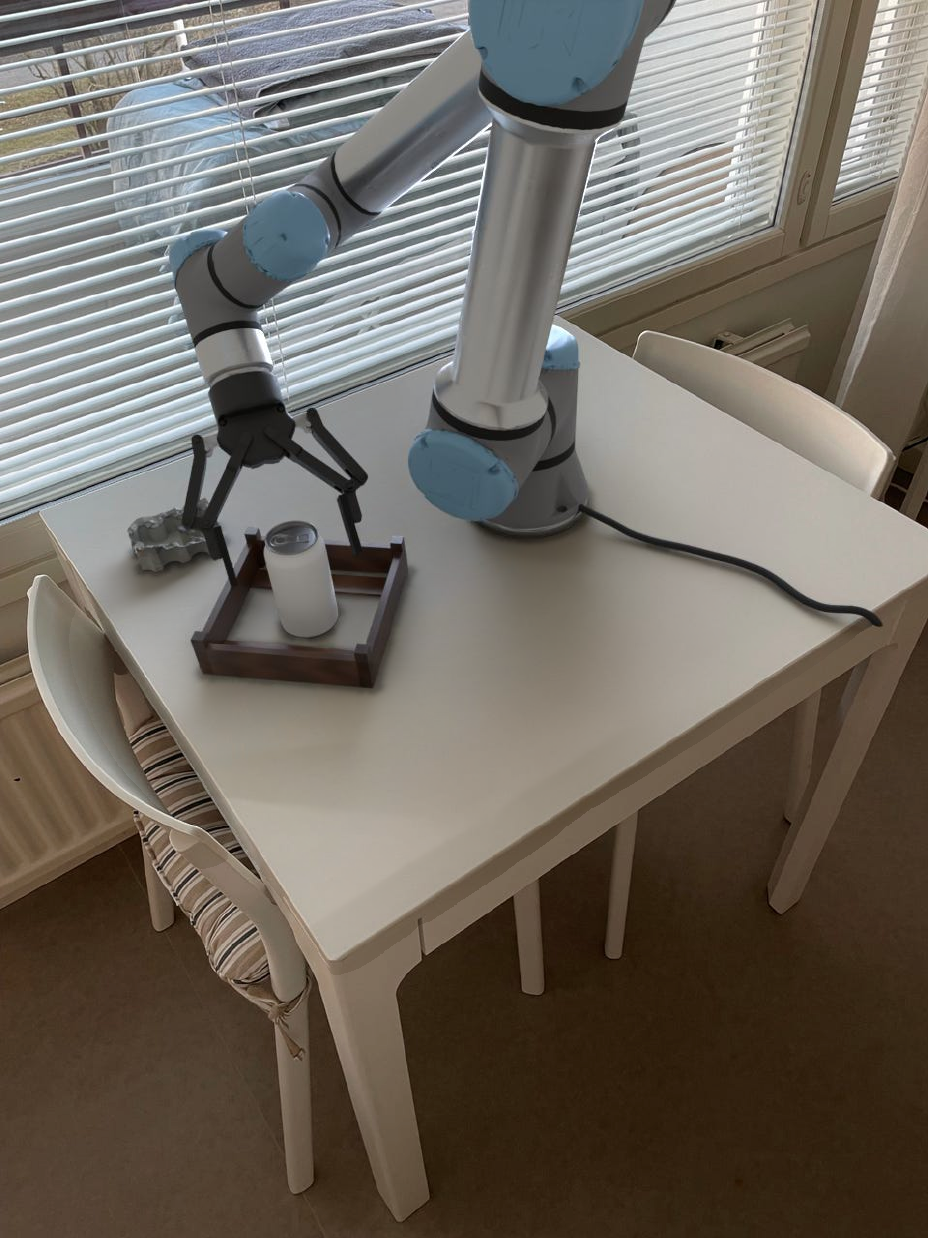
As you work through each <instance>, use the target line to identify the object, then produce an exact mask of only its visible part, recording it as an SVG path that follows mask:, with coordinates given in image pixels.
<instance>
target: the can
mask: <svg viewBox="0 0 928 1238" xmlns="http://www.w3.org/2000/svg"><path fill="white" fill-rule="evenodd" d="M264 536H265V548H264V558H265V562H266V566H265V567H266V569H267V570H268V574H269V578H270V582H271V585H272V589H271V590H272V593H273V596H274V597H273V598H274V600H275V605H276V608H277V612H278V615H279V618H280V622H281V626H282V628H283V629H284V630H285V632H287V633H288V634H290V635H292V636H294V637H298V638H301V639H309V638H310V639H311V638H315V637H319V636H322V635H324V634H325V633H327V632H328V631H330V630H331V629H332V628H333V627H334V626H335V624H336V623H337V621H338V619H339V608H338V602H337V598H336V594H335V592H334V587H333V582H332V577H331V574H332V573H331V572H332V571H331V570H330V567H329V562H328V557H327V552H326V548H325V544H324V541H323V540H324V539H323V537H322V536H321V534H320V533H319V529H318V528H317V527H316V525H314V524H313V523H311V522H309V521H307V520H306V521H305V520H297V519H295V520H287V521H283V522H281V523H278V524H276V525H274V526H273V527H272V528H270V529H269V530H268V531H267V533H266V534H265V535H264Z"/></svg>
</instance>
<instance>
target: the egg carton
mask: <svg viewBox="0 0 928 1238" xmlns="http://www.w3.org/2000/svg"><path fill="white" fill-rule="evenodd" d="M209 503H210V502H209V501H208V500H207V498H206V497H203V498H202V499H201V498H200V502H199V507H198V512H197V517H201V518H202V517H203V515H204V513H205V511H206V509H207V507H208V505H209ZM183 510H184V505H183V506H182V507H181V508H178V507H173V508H172V509H170V510H167V511H163V512H160V513H158V514H155V515H150V516H141V517H138V518H136V519H135V520H134V521H133V522H132V523H131V524H130V525H129V526H128V528H127V530H126V531H127V534H128V539H129V541H130V542H131V550H132V553H133V554H136V556H137V558H138V560H139V563H140V566H141V569H142V571H147V570H149V571H153V572H157V573H159V572H161V571H163V570H164V568H165V566H166V565H167V564H169V563H171V562H179V563H182V564H184V563H186V562H189V561H191V560H192V558H193V556H194V555H196V554H197V553H207V554H208V555H210V554H209V550H208V547H207V544H206V540H205V537H204V534H203V533H202V532H201V531H197V530H186V529H185V528H184V527H183V525H182V515H183ZM218 526H220V524H219V521H218V520H217V521H216V523H215V525H214V527H218Z"/></svg>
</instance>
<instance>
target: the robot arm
mask: <svg viewBox="0 0 928 1238" xmlns="http://www.w3.org/2000/svg"><path fill="white" fill-rule="evenodd" d="M676 2H677V0H468V21H469V28H468V29H467V30H466V31H464V33H462V34H461V35H460V36H459V37H458V38H457V39H455V40H454V42H452V44H450V45H449V47H447V48H446V49H445V50H444V51H443V52H442V53H441V54H440V55H438V56H437V57H436V58H435V59H434V60H433V61H432V62H431V63H430V64H429V65H427V66H426V67H425V68H424V69H423V70H422V71H421V72H420V73H419V74H418V75H416V76H415V77H414V78H413V79H412V80H411V81H410V82H409V83H408V84H407V85H405V87H403V89H402V90H400V91H399V92H398V93H397V94H396V95H394V97H392V99H390V100H389V101H388V102H387V103H386V104H385V105H384V106H383V107H382V108H380V109H379V111H377V112H376V113H375V114H374V115H373V116H372V117H371V118H370V119H369V120H367V121H366V122H365V123H364V124H363V125H362V126H361V127H360V128H359V129H357V130H356V132H354V133H353V134H352V135H351V136H350V137H349V138H348V139H346V140H345V142H344V143H343V144H341V145H340V146H339V147H338V148H336V150H334V151H333V152H332V153H331V154H330V155H329V156H327V158H326V159H324V160H323V161H322V162H321V163H320V164H319V165H318V166H316V168H314V169H313V170H311V172H310V173H308V174H307V175H306V176H304V177H303V178H301V179H300V180H299V181H297V182H296V183H294V184H293V185H291V186H289V187H287V188H286V189H284V190H283V189H282V190H278V191H275V192H273V193H272V194H270V195H269V196H268V197H266V198H264V199H263V200H262V201H261V202H259V203H258V204H255V205H254V206H253V207H252V208H251V209H250V210H249V211H248V213H247V214H246V215H245V216H243V218H242V219H241V220H240V221H239V222H238V223H236V225H234V226H233V228H231V229H230V230H229V231H228V232H227V231H225V230H223V229H217V228H207V229H204V228H203V229H199V230H195V231H191V232H190V234H188V235H185V236H181V237H179V238H178V239H177V240H176V241H174V243H172V245H171V247H170V249H169V252H168V261H169V265H170V269H171V273H172V277H173V284H174V285H173V287H174V290H175V292H176V294H177V297H178V299H179V304H180V306H181V309H182V311H183V315H184V319H185V322H186V324H187V328H188V332H189V335H190V338H191V342H192V344H193V346H194V352H195V356H196V359H197V361H198V365H199V369H200V372H201V375H202V380H203V383H204V384H205V386H206V387H208V388H209V389H208V391H207V396H208V399H209V402H210V404H211V409H212V413H213V416H214V419H215V422H216V426H217V434H216V435H207V436H202V435H200V434H194V435H192V436H191V440H190V442H191V446H192V453H193V459H192V464H191V470H190V475H189V480H188V484H187V485H188V486H187V489H186V490H187V491H186V496H185V501H184V505H183V506H184V510H183V515H182V525H183V527H184V528H185V529H186V530H197V531H201V532H202V533H203V534H204V537H205V540H206V544H207V547H208V550H209V554H208V555H209V557H210V558H211V560H212V561H213V562H215V561H219V560H222V561H223V565H224V568H225V571H226V574H227V577H228V578H229V581H230V585H231V588H232V589H235V588H239V586H238V582H237V579H236V576H235V572H234V569H233V568H234V566H233V562H232V559H231V555H230V552H229V549H228V546H227V542H226V539H225V536H224V535H225V534H224V533H223V529H222V526H221V525H219V526H218V527H214V525H215V523H216V521H217V522H218V519H219V517H220V515H221V513H222V511H223V508H224V506H225V504H226V502H227V500H228V498H229V495H230V493H231V491H232V490H233V487H234V485H235V483H236V481H237V480H238V477H239V475H240V474H241V471H242V469H243V467H245V468H247V469H251V470H255V469H258V468H260V467H262V466H264V465H274V464H279V463H280V462H281V461H283V460H284V459H285V458H287V459H288V460H290V461H291V462H293V463H295V464H297V465H298V466H300V467H302V468H303V469H305V470H306V471H307V472H309V473H310V474H312V475H313V476H315V477H316V478H318V479H319V480H320V481H322V482H324V483H325V484H326V485H327V486H329V487H330V488H332V489H333V490H335V491H337V492H338V493H340V494H338V496H337V498H336V501H337V502H336V503H337V505H338V508H339V512H340V516H341V519H342V522H343V526H344V529H345V533H346V535H347V539H348V541H349V543H350V546H351V549H352V553H353V556H355V555H359V554H361V553H362V551H363V550H362V547H361V544H360V542H361V541H360V537H359V535H358V530H357V528H356V524H357V523H361V522H362V520H363V513H362V510H361V507H360V503H359V500H358V496H357V491H358V489H360V488H361V487H363V486H365V484H366V483H367V481H368V479H369V474H368V473H367V472H366V471H365V469H364V468H363V467H362V466H361V465H360V464H359V463H358V462H357V460H355V458H354V457H353V456H352V455H351V454H350V453H349V452H348V451H347V450H346V449H345V448H344V446H343V445H342V444H341V443H340V442H339V441H338V440H337V439H336V438H335V436H334V435H333V434H332V433H331V432H330V431H329V430H328V429H327V428H326V427H325V425H324V423H323V421H322V418H321V416H320V414H319V411H318V410H317V408H315V407H309V408H308V409H306V412H304V413H301V414H298V415H295V416H292V415H290V413H289V412H288V411H287V408H286V404H285V401H284V397H283V394H282V390H281V387H280V383H279V380H278V376H277V375H275V374H274V373H273V371H274V363H273V360H272V357H271V353H270V349H269V347H268V343H267V340H266V338H265V337H266V336H265V335H264V334H265V333H264V330H263V326H262V324H261V322H260V317H259V313H258V309H260V308H261V307H263V306H264V305H265V304H267V303H268V302H269V301H270V300H271V299H273V298H274V297H276V296H277V295H278V294H280V293H281V292H284V290H286V289H287V288H289V287H290V286H291V285H293V284H294V283H295V282H296V281H298V280H301V279H303V278H304V277H306V276H307V274H308V273H310V272H311V271H313V270H314V269H315V268H316V267H317V266H318V264H319V263H321V261H323V260H325V258H327V256H329V255H330V254H331V253H333V252H334V251H335V250H337V248H338V247H340V246H341V245H342V244H344V243H345V242H346V241H348V240H349V239H351V238H352V237H353V236H354V235H356V234H358V233H360V232H361V231H363V229H365V228H366V227H367V226H369V225H370V224H371V223H372V222H373V221H374V219H376V218H377V217H379V216H380V215H381V214H382V212H384V211H385V210H386V209H388V207H390V206H391V205H392V204H394V203H395V202H396V201H397V200H399V199H400V198H401V197H403V196H404V195H405V194H407V193H408V192H409V191H410V190H411V189H413V188H415V186H417V185H418V184H419V183H420V182H422V181H423V180H424V179H425V178H426V177H428V176H429V175H431V174H432V173H433V172H434V171H435V170H437V169H438V168H439V167H441V166H442V165H443V164H444V163H446V162H447V161H448V160H450V158H452V157H453V156H455V154H457V153H458V152H459V151H461V150H462V149H463V148H465V147H466V146H467V145H469V144H470V143H471V142H472V141H474V140H475V139H476V138H478V137H479V136H480V135H481V134H483V133H484V132H485V131H486V130H487V129H489V128H490V132H489V138H488V144H487V150H486V156H485V163H484V169H483V174H482V181H481V187H480V193H479V199H478V204H477V211H476V217H475V223H474V228H475V229H474V235H473V236H472V243H471V249H470V253H469V254H470V255H469V260H468V267H467V273H466V279H465V285H464V291H463V298H462V304H461V310H460V317H459V322H458V329H457V334H456V341H455V347H454V352H453V359H452V361H450V362H448V363H447V364H445V365H444V366H442V367H441V368H440V369H439V371H438V372H437V374H436V376H435V378H434V381H433V387H432V393H431V400H430V406H429V413H428V418H427V422H426V425H425V427H424V429H423V431H421V432H419V434H417V435H416V436H415V438H414V439H413V442H412V444H411V446H410V449H409V451H408V453H407V454H408V455H407V468H408V472H409V475H410V478H411V480H412V483H413V484H414V485H415V487H416V488H417V490H418V491H420V493H421V494H423V496H424V498H425V499H426V500H427V501H428V502H429V503H430V504H431V505H432V506H434V507H435V508H437V509H438V510H439V511H441V512H443V513H445V514H447V515H449V516H452V517H454V518H456V519H460V520H464V521H470V522H477V523H478V524H479V525H480V526H482V527H483V528H485V529H486V530H488V531H490V532H492V533H495V534H498V535H502V536H506V537H511V538H519V539H535V538H536V539H537V538H542V537H543V538H544V537H548V536H552V535H556V534H558V533H561V532H563V531H565V530H567V529H569V528H571V527H572V526H574V525H575V524H577V523H578V521H580V520H581V518H582V517H583V516H584V515H587V516H589V517H591V518H592V519H595V520H597V521H598V522H601V523H602V524H605V525H607V526H608V527H610V528H613V530H616V531H617V532H620V533H621V534H623V535H625V536H626V537H627V536H628V537H629V538H632V539H634V540H636V541H639V542H642V543H646V544H649V545H653V546H656V547H660V548H665V549H670V550H675V551H679V552H684V553H687V554H688V553H689V554H692V555H696V556H699V557H703V558H707V559H711V560H715V561H718V562H722V563H726V564H730V565H732V566H736V567H739V568H742V569H745V570H748V571H750V572H752V573H755V574H757V575H759V576H761V577H763V578H764V579H767V580H768V581H770V582H772V583H773V584H774V585H775V586H777V587H778V588H780V589H781V590H782V591H783V592H785V593H786V594H787V595H788V596H790V597H791V598H792V599H794V600H796V602H799V603H801V604H803V605H804V606H806V607H808V608H810V609H813V610H816V611H819V612H823V613H828V614H829V613H830V614H845V615H846V614H847V615H856V616H861V617H863V618H865V619H866V620H867V621H869V622H870V623H871V625H873V626H874V627H877V628H882V627H883V626H884V624H883V622H882V620H881V619H880V618H879V617H878V616H877V615H876V614H875V613H874V612H872V611H871V610H869V609H867V608H865V607H861V606H857V605H848V604H847V605H846V604H845V605H843V604H829V603H823V602H819V601H817V600H814V599H812V598H811V597H809V596H806V595H805V594H803V593H801V592H800V591H799V590H797V589H796V588H794V587H793V586H791V584H790V583H788V582H787V581H786V580H784V579H783V578H781V577H780V576H779V575H778V574H776V573H774V572H772V571H771V570H769V569H768V568H767V569H766V568H765V567H763V566H761V565H759V564H756V563H753V562H751V561H748V560H745V559H743V558H739V557H736V556H733V555H729V554H725V553H721V552H716V551H714V550H708V549H705V548H702V547H698V546H694V545H689V544H686V543H681V542H677V541H672V540H666V539H663V538H658V537H655V536H651V535H647V534H644V533H642V532H639V531H636V530H634V529H632V528H630V527H628V526H626V525H624V524H623V523H620V522H618V521H617V520H615V519H613V518H612V517H609V516H607V515H605V514H603V513H601V512H599V511H597V510H595V509H593V508H591V507H590V506H588V501H589V489H588V483H587V482H588V481H587V479H586V475H585V473H584V470H583V467H582V465H581V464H582V463H581V462H580V458H579V456H578V452H577V449H576V435H577V416H578V415H577V413H578V391H579V370H580V369H579V368H580V367H581V362H580V360H579V357H580V355H579V343H578V340H577V338H576V337H575V336H574V335H573V334H572V333H570V332H569V331H567V330H566V329H565V328H563V327H560V326H558V325H556V324H553V323H554V318H555V315H556V311H557V306H558V304H559V299H560V295H561V291H562V286H563V283H564V280H565V279H564V278H565V274H566V270H567V266H568V262H569V259H570V254H571V250H572V246H573V242H574V237H575V234H576V230H577V226H578V223H579V222H578V221H579V218H580V213H581V209H582V205H583V201H584V198H585V194H586V193H585V192H586V190H587V186H588V181H589V177H590V174H591V169H592V165H593V161H594V156H595V153H596V149H597V145H598V141H599V139H600V138H601V137H603V136H605V135H606V134H608V133H610V132H611V131H613V130H615V129H616V128H618V127H619V126H620V125H621V123H622V122H623V120H624V116H625V113H626V110H627V106H628V102H629V98H630V95H631V91H632V88H633V84H634V80H635V76H636V74H637V73H636V71H637V68H638V65H639V62H640V58H641V53H642V50H643V46H644V43H645V40H646V39H647V38H648V37H649V36H651V34H652V33H653V32H655V30H656V29H657V28H658V27H659V26H660V25H661V24H663V22H664V21H665V20H666V18H667V17H668V15H669V14H670V13H671V11H672V10H673V8H674V7H675V5H676ZM297 428H298V429H300V430H302V431H303V432H304V433H305V434H311V435H312V438H313V439H314V440H315V441H316V442H317V443H318V445H320V446H321V447H322V449H323V450H324V451H325V452H326V453H327V454H328V455H329V456H330V458H332V460H333V461H334V462H335V463H336V464H337V465H338V467H339V468H340V469H341V470H342V471H343V472H344V473H345V474H346V475H347V476H348V478H349V479H348V478H347V477H345V476H344V475H342V474H341V473H340V472H338V471H336V470H335V469H334V468H332V467H330V466H329V465H328V464H327V463H325V462H323V461H322V460H320V459H319V458H317V457H316V456H315V455H313V454H311V453H310V452H309V451H307V450H306V449H305V448H304V447H303V446H301V445H300V444H299V443H297V442H296V441H294V440H293V437H294V435H295V431H296V429H297ZM218 447H219V448H220V449H221V450H222V451H223V452H224V453H226V454H227V455H228V456H230V457H229V459H228V461H227V464H226V466H225V469H224V471H223V473H222V475H221V477H220V479H219V481H218V483H217V486H216V488H215V490H214V492H213V493H212V494H213V495H212V496H211V499H210V500H209V502H208V503H209V505H208V507H207V509H206V511H205V513H204V515H203V517H202V518H201V517H197V512H198V507H199V502H200V500H201V497H202V491H203V487H204V486H203V485H204V482H205V476H206V470H207V463H208V461H207V460H208V458H211V457H212V456H213V455H214V451H215V449H216V448H218ZM228 578H227V579H228Z"/></svg>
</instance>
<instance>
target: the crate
mask: <svg viewBox="0 0 928 1238" xmlns="http://www.w3.org/2000/svg"><path fill="white" fill-rule="evenodd" d="M265 536H266V535H261V530H260V527H252V526H248V527H247V528H246V530H245V532H244V539H245V544H244V547H243V548H242V551H240V554H239V557H238V558H237V561H236V562H235V565H234V566H233V569H234V572H235V576H236V579H237V582H238V586H239V588H235V589H232V588H231V585H230V581H229V578H227V580H226V582H225V584H224V586H223V588H222V591H221V592H220V594H219V597H217V600H216V602H215V604H214V606H213V608H212V610H211V612H210V614H209V616H208V618H207V620H206V621H205V624H204V625H203V628H202V630H201V631H200V630H195V631H194V632H193V634H192V636H191V638H190V644H191V646H192V649H193V651H194V654H195V657H196V661H197V662H198V665H199V668H200V671H201V674H202V675H209V676H220V677H221V676H222V677H223V676H224V677H236V678H244V679H245V678H248V679H260V680H269V681H270V680H271V681H282V682H294V683H303V684H305V683H306V684H315V685H316V684H317V685H329V686H339V687H340V686H342V687H351V688H352V687H353V688H363V689H364V688H365V689H374V686H375V684H376V679H377V676H378V674H379V669H380V667H381V666H380V665H381V663H382V659H383V656H384V653H385V650H386V646H387V643H388V639H389V636H390V631H391V628H392V626H393V622H394V619H395V616H396V612H397V610H398V606H399V602H400V599H401V595H402V593H403V589H404V586H405V582H406V579H407V575H408V572H409V567H408V558H407V557H408V556H407V549H406V548H407V547H406V539H405V536H404V535H403V536H402V535H392V536H391V538H390V541H389V543H387V542H369V541H360V544H361V547H362V550H363V551H362V553H361V554H359V555H355V556H353V553H352V549H351V546H350V543H349V540H339V539H323V541H324V544H325V548H326V552H327V557H328V562H329V567H330V571H339V572H353V573H368V574H370V573H371V574H382V575H383V574H384V575H387V576H386V577H385V576H372V575H371V576H370V575H357V574H356V575H355V574H342V573H341V574H340V573H331V577H332V582H333V587H334V592H335V595H348V596H364V597H377V598H379V602H378V605H377V607H376V611H375V613H374V617H373V619H372V623H371V626H370V630H369V632H368V636H367V639H366V642H365V643H356V644H355V648H354V649H345V648H344V649H343V648H333V647H318V646H307V645H293V644H281V643H268V642H257V641H256V642H253V641H244V640H243V641H242V640H232V639H231V640H229V639H228V638H229V636H230V633H231V631H232V629H233V627H234V625H235V623H236V620H237V618H238V617H239V614H240V612H241V610H242V608H243V606H244V603H245V601H246V599H247V598H248V595H249V593H250V591H251V589H263V590H273V589H272V585H271V582H270V578H269V574H268V570H267V568H266V567H267V566H266V562H265V558H264V548H265Z"/></svg>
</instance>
